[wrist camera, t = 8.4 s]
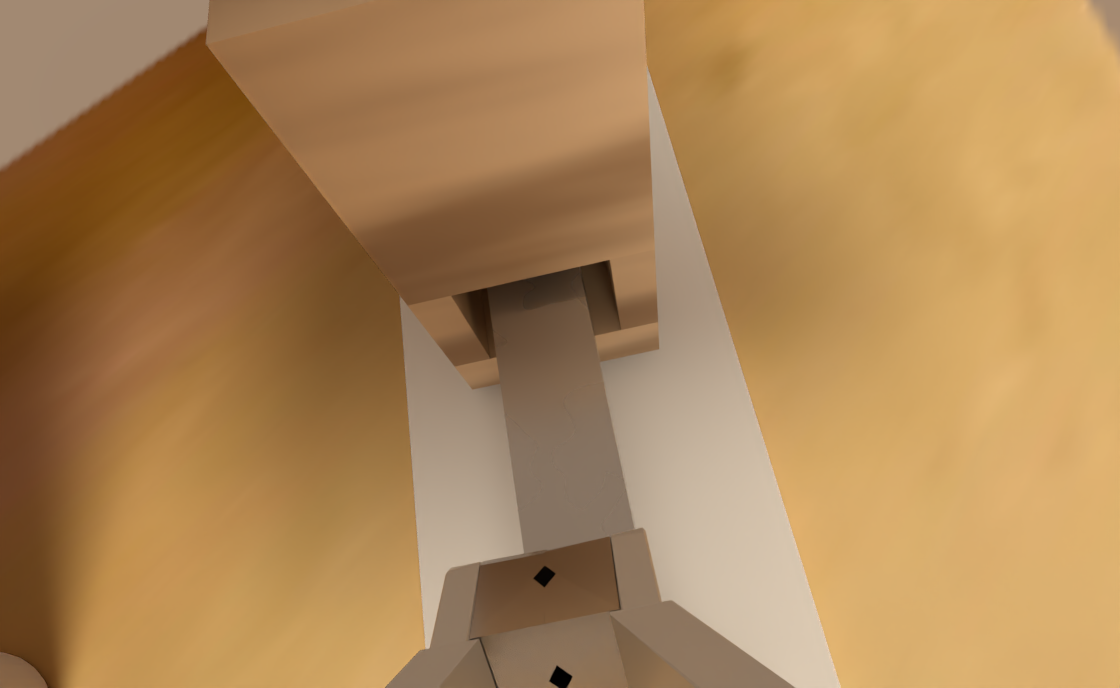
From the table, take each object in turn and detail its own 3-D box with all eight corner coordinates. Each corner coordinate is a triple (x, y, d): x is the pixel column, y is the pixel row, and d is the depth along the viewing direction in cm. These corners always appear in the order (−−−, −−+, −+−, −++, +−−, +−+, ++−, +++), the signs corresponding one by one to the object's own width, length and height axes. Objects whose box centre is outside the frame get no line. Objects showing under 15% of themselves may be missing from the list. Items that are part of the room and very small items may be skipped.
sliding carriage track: (813, 1030, 14) (915, 1305, 8) (581, 1063, 14) (518, 1351, 9) (577, 76, 26) (550, -92, 20) (454, 106, 27) (390, -50, 21)
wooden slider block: (659, 349, 19) (640, -69, 8) (472, 389, 20) (205, 44, 9) (623, 210, 22) (569, -272, 10) (455, 249, 22) (225, -176, 11)
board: (934, 1012, 14) (948, 1032, 13) (469, 1080, 15) (459, 1102, 14) (641, 60, 26) (640, 43, 25) (393, 121, 27) (385, 107, 26)
